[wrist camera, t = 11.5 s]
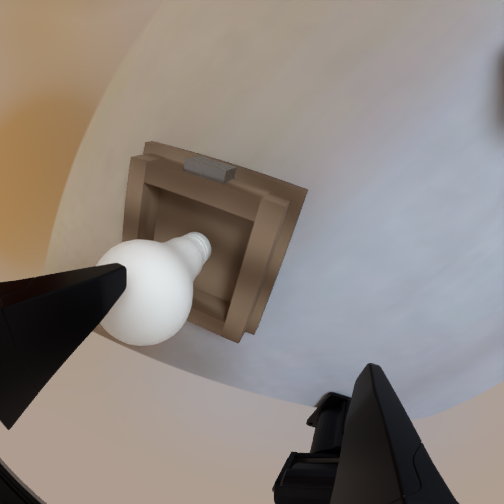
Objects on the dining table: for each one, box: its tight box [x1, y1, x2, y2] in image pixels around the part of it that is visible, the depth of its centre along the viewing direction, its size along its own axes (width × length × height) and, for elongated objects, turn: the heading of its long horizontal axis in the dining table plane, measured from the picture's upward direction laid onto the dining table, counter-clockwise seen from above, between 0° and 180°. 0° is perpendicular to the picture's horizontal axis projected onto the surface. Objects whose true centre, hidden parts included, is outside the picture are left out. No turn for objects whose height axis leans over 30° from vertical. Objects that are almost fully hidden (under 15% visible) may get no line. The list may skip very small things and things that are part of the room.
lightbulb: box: [96, 232, 211, 346], centre depth 18 cm, size 6×6×11 cm
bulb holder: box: [122, 141, 308, 344], centre depth 22 cm, size 13×13×4 cm
